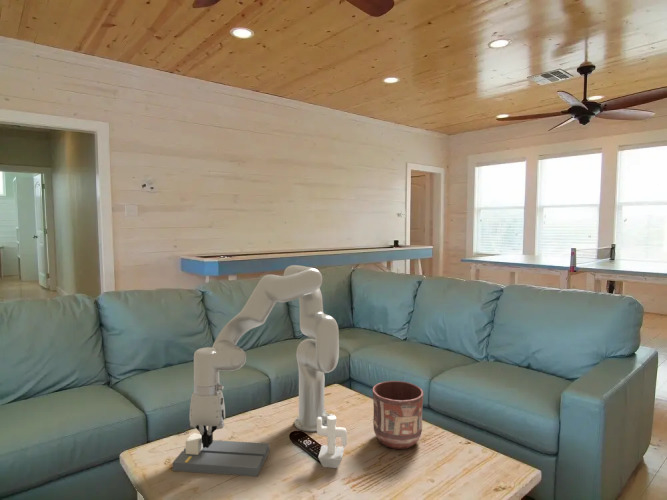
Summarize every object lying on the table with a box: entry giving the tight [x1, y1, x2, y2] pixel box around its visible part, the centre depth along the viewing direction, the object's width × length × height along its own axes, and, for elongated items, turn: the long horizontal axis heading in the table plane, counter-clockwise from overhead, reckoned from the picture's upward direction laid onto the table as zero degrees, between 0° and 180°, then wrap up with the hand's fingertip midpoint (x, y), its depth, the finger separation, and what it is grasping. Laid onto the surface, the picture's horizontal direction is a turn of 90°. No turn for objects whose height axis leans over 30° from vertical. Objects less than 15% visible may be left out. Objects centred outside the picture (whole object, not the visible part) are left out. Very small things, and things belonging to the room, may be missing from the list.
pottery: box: [371, 380, 425, 450], centre depth 143 cm, size 18×18×18 cm
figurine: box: [316, 414, 348, 469], centre depth 129 cm, size 7×9×15 cm
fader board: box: [171, 439, 270, 477], centre depth 131 cm, size 26×14×3 cm, turn 85°
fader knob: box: [184, 432, 203, 455], centre depth 132 cm, size 4×5×5 cm
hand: (207, 445), depth 131 cm, fingers closed
